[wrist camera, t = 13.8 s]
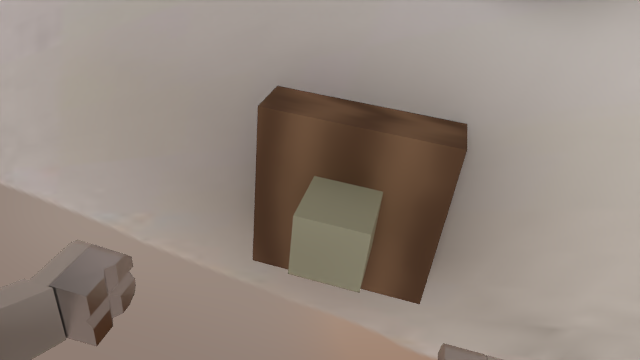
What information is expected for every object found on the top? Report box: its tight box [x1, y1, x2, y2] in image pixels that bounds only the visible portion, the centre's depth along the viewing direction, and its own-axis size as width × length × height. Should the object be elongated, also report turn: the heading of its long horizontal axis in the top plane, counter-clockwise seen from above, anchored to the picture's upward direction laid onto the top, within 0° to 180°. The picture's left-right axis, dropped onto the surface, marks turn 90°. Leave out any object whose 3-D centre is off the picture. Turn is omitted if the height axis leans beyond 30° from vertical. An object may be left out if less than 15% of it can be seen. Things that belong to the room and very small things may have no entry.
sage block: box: [288, 176, 383, 292], centre depth 33 cm, size 5×5×5 cm
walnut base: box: [253, 86, 467, 304], centre depth 37 cm, size 14×14×4 cm
